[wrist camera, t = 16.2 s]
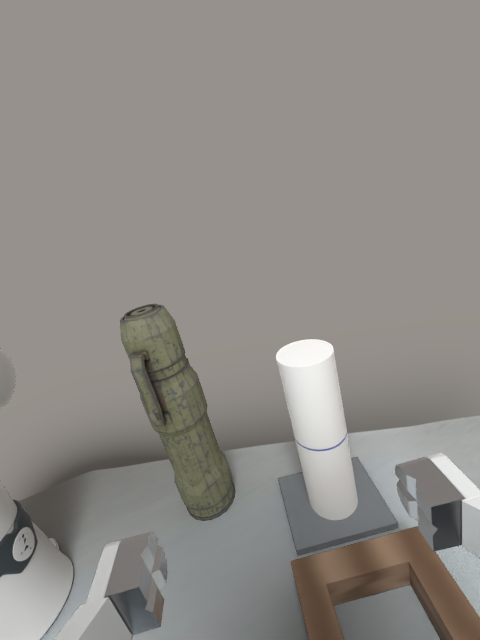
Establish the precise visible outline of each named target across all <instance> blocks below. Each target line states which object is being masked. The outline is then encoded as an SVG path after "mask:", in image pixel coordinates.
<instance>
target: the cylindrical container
mask: <svg viewBox="0 0 480 640" xmlns="http://www.w3.org/2000/svg"><path fill="white" fill-rule="evenodd" d="M276 360H277V364H278V368H279V373H280V377H281V381H282V386H283V390H284V395H285V399H286V403H287V407H288V412H289V416H290V420H291V424H292V428H293V432H294V437H295V441H296V446H297V450H298V454H299V459H300V463H301V468H302V472H303V476H304V480H305V485H306V489H307V493H308V497H309V501H310V505H311V507H312V509H313V510H314V511H315V512H316V513H317V514H318V515H320V516H321V517H323V518H326V519H329V520H342V519H345V518H347V517H349V516H350V515H351V514H352V513H353V512H354V511H355V509H356V508H357V504H358V497H357V491H356V485H355V479H354V472H353V466H352V460H351V454H350V447H349V441H348V435H347V429H346V423H345V418H344V411H343V405H342V399H341V392H340V386H339V380H338V374H337V368H336V362H335V356H334V350H333V346H332V345H331V344H330V343H328V342H326V341H323V340H317V339H308V340H301V341H297V342H293V343H291V344H288V345H286V346H284V347H283V348H281V349H280V350H279V351H278V352H277V354H276Z"/></svg>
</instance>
